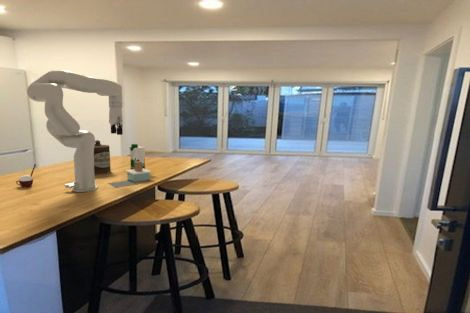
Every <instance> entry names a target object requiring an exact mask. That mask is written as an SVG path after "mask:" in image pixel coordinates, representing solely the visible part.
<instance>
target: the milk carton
mask: <svg viewBox="0 0 470 313" xmlns="http://www.w3.org/2000/svg"><path fill="white" fill-rule="evenodd" d="M129 154H130V155H129V156H130V158H129V159H130V170H131V169H134V162H137V161H140V162H142V168H144V169H146V165H145V164H146V161H145V160H146V157H145V155H146V147H145V146H138V144H137V143H131V145H130V146H129Z"/></svg>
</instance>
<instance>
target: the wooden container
mask: <svg viewBox="0 0 470 313" xmlns="http://www.w3.org/2000/svg"><path fill="white" fill-rule="evenodd" d="M110 172H111V151H110V145H109V144H102V143H101V141H100V140H98V139H95V145H94V173H95V175H104V174H109V173H110Z"/></svg>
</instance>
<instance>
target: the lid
mask: <svg viewBox="0 0 470 313" xmlns="http://www.w3.org/2000/svg"><path fill="white" fill-rule="evenodd" d="M124 172H125V173H126V174H127V173H130V174H132V175H136V174H144V173H150V174H151V173H153V172H152V170H149V169H147V168H145V169H144V168H142V162H140V161H137V162H134V169H131V168H130V169H125V170H124Z"/></svg>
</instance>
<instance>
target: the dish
mask: <svg viewBox="0 0 470 313" xmlns="http://www.w3.org/2000/svg"><path fill="white" fill-rule="evenodd" d="M126 175H127V180H130V181H132V182H134V183H137V182H144V181H149V180H150V179H151V176H150V175H151V173H144V174H136V175H132V174H130V173H127V172H126Z"/></svg>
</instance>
